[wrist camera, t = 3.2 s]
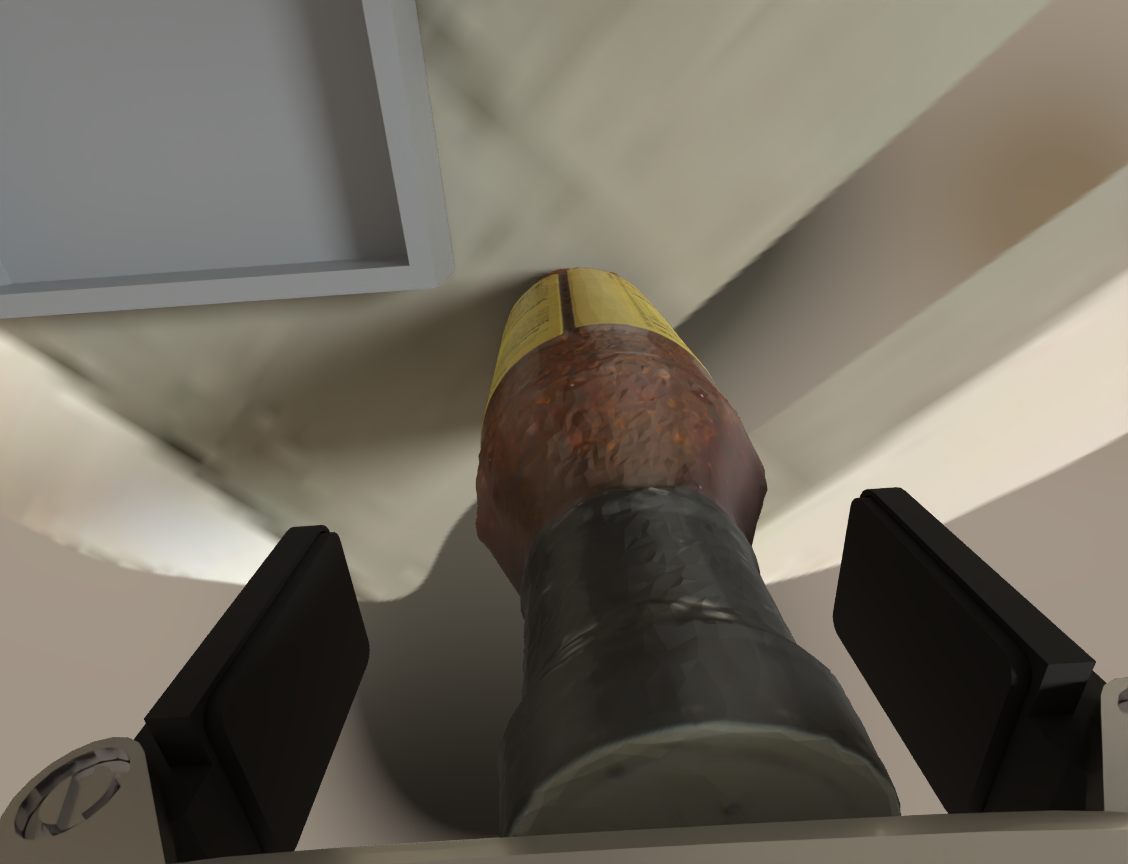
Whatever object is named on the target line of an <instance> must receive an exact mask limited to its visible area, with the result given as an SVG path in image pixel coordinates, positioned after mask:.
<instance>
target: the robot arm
mask: <svg viewBox="0 0 1128 864" xmlns="http://www.w3.org/2000/svg"><path fill="white" fill-rule="evenodd" d="M833 622H834V627H835V630H836V633H837V635H838V636H839V638H840V639H841V641H842V643H843V644H844V646H845V648H846V649H847V651H848V653H849V654H850V656H851V657H852V659H853V661H854V662H855V664H856V666H857V667H858V669H859V670H860V672H861V674H862V675H863V677H864V678H865V680H866V682H867V683H868V685H869V687H870V688H871V690H872V691H873V693H874V695H875V696H876V698H877V700H878V701H879V703H880V705H881V706H882V708H883V709H884V711H885V712H886V714H887V716H888V717H889V719H890V721H891V722H892V724H893V726H894V727H895V729H896V730H897V732H898V734H899V735H900V737H901V738H902V740H903V742H904V743H905V745H906V747H907V748H908V750H909V751H910V753H911V755H912V756H913V758H914V760H915V761H916V763H917V765H918V766H919V768H920V769H921V771H922V773H923V774H924V776H925V777H926V779H927V781H928V782H929V784H930V786H931V787H932V789H933V790H934V792H935V794H936V795H937V797H938V798H939V800H940V802H941V803H942V805H943V806H944V808H945V809H946V811H947V812H948V814H932V815H910V816H891V817H871V818H851V819H831V820H811V821H791V822H771V823H751V824H732V825H714V826H696V827H678V828H660V829H642V830H624V831H606V832H589V833H571V834H554V835H536V836H519V837H503V838H488V839H471V840H455V841H441V842H440V841H439V842H423V843H406V844H391V845H374V846H358V847H342V848H330V849H318V850H304V851H294V850H295V848H296V846H297V844H298V841H299V839H300V836H301V834H302V831H303V828H304V826H305V823H306V821H307V818H308V816H309V813H310V810H311V808H312V805H313V803H314V800H315V797H316V795H317V792H318V790H319V787H320V785H321V782H322V779H323V777H324V774H325V772H326V769H327V767H328V764H329V762H330V759H331V756H332V754H333V751H334V749H335V746H336V743H337V741H338V738H339V736H340V733H341V731H342V728H343V725H344V723H345V720H346V718H347V715H348V713H349V710H350V707H351V705H352V702H353V700H354V697H355V695H356V692H357V689H358V687H359V684H360V682H361V679H362V677H363V674H364V671H365V669H366V666H367V663H368V659H369V651H370V649H369V641H368V638H367V634H366V630H365V627H364V623H363V620H362V616H361V613H360V609H359V605H358V602H357V598H356V595H355V591H354V587H353V584H352V580H351V577H350V573H349V570H348V566H347V562H346V559H345V555H344V552H343V548H342V545H341V541H340V538H339V536H338V534H337V533H335V532H330V531H329V529H328V528H327V527H326V526H324V525H316V526H301V527H292V528H290V529H289V530H288V531H287V532H286V533H285V535H284V536H283V537H282V538H281V540H280V541H279V542H278V544H277V545H276V546H275V548H274V549H273V550H272V552H271V553H270V554H269V556H268V557H267V558H266V559H265V561H264V562H263V563H262V565H261V566H260V567H259V569H258V570H257V571H256V573H255V574H254V575H253V577H252V578H251V579H250V580H249V582H248V583H247V584H246V586H245V587H244V588H243V590H242V591H241V593H240V594H239V595H238V596H237V598H236V599H235V600H234V602H233V603H232V604H231V606H230V607H229V608H228V609H227V611H226V612H225V613H224V615H223V616H222V617H221V618H220V620H219V621H218V622H217V624H216V625H215V626H214V628H213V629H212V630H211V632H210V633H209V634H208V635H207V637H206V638H205V639H204V641H203V642H202V643H201V645H200V646H199V647H198V649H197V650H196V651H195V653H194V654H193V655H192V656H191V658H190V659H189V660H188V662H187V663H186V664H185V666H184V667H183V668H182V670H181V671H180V672H179V673H178V675H177V676H176V677H175V679H174V680H173V681H172V683H171V684H170V685H169V687H168V688H167V689H166V691H165V692H164V693H163V694H162V696H161V697H160V698H159V700H158V701H157V702H156V704H155V705H154V706H153V708H152V709H151V710H150V711H149V713H148V714H147V715H146V717H145V718H144V720H145V722H146V724H145V725H144V727H143V728H142V729H141V731H140V732H139V733H138V735H137V736H136V737H135V739H134V740H132V739H131V738H128V737H126V738H125V737H112V738H107V739H103V740H99V741H95V742H92V743H90V744H87V745H85V746H83V747H81V748H78V749H75V750H74V751H71V752H70V753H68V754H66V755H65V756H63V757H61V758H60V759H58V760H56V761H55V762H53V763H51V764H50V765H49V766H47V767H46V768H45V769H44V770H42V771H41V772H40V773H39V774H37V775H36V776H35V777H34V778H32V779H31V780H30V781H29V782H28V783H27V784H26V785H25V786H24V787H23V788H22V789H21V791H19V792H18V793H17V795H16V796H15V797H14V798H13V799H12V801H11V802H10V804H9V805H8V807H7V808H6V810H5V812H4V813H3V814H2V816H1V819H0V864H1128V677H1123V678H1115V679H1113V680H1111V681H1110V682H1108V683H1106V682H1105V681H1104V680H1102V679H1101V678H1100V677H1099V676H1098V675H1097V674H1096V673H1095V672H1094V671H1093V668H1094V666H1095V663H1096V661H1095V660H1094V659H1093V658H1091V657H1090V656H1089V655H1088V654H1087V653H1086V652H1085V651H1084V650H1083V649H1081V648H1080V647H1079V646H1078V645H1077V644H1076V643H1075V642H1074V641H1072V640H1071V639H1070V638H1069V637H1068V636H1067V635H1066V634H1065V633H1063V632H1062V631H1061V630H1060V629H1059V628H1058V627H1057V626H1056V625H1055V624H1053V623H1052V622H1051V621H1050V620H1049V619H1048V618H1047V617H1046V616H1045V615H1043V614H1042V613H1041V612H1040V611H1039V610H1038V609H1037V608H1036V607H1035V606H1033V605H1032V604H1031V603H1030V602H1029V601H1028V600H1027V599H1026V598H1024V597H1023V596H1022V595H1021V594H1020V593H1019V592H1018V591H1016V589H1014V588H1013V587H1012V586H1011V585H1010V584H1009V583H1008V582H1007V581H1005V580H1004V579H1003V578H1002V577H1001V576H1000V575H999V574H998V573H997V572H995V571H994V570H993V569H992V568H991V567H990V566H989V565H988V564H986V563H985V562H984V561H983V560H982V559H981V558H980V557H979V556H978V555H976V554H975V553H974V552H973V551H972V550H971V549H970V548H969V547H967V546H966V545H965V544H964V543H963V542H962V541H961V540H959V538H957V537H956V536H955V535H954V534H953V533H952V532H951V531H949V530H948V529H947V528H946V527H945V526H944V525H943V524H942V523H941V522H940V521H938V520H937V519H936V518H935V517H934V516H933V515H932V514H931V513H929V512H928V511H927V510H926V509H925V508H924V507H923V506H922V505H921V504H919V503H918V502H917V501H916V500H915V499H914V498H913V497H912V496H910V495H909V494H908V493H907V492H906V491H905V490H903V489H902V488H897V487H894V488H879V489H866V490H864V491H863V492H862V494H861V495H860V498H855V499H854V500H853V501H852V503H851V507H850V513H849V519H848V525H847V531H846V537H845V543H844V549H843V555H842V561H841V568H840V573H839V579H838V586H837V592H836V598H835V604H834V610H833Z"/></svg>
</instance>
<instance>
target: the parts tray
mask: <svg viewBox="0 0 1128 864" xmlns="http://www.w3.org/2000/svg"><path fill="white" fill-rule="evenodd" d="M453 272H455V267H454V260H453V253H452V247H451V240H450V233H449V226H448V219H447V213H446V206H445V199H444V192H443V186H442V179H441V172H440V165H439V158H438V152H437V145H436V138H435V131H434V124H433V118H432V111H431V104H430V97H429V91H428V84H427V77H426V70H425V63H424V57H423V50H422V43H421V36H420V30H419V23H418V16H417V9H416V2H415V0H0V319H5V318H19V317H33V316H47V315H62V314H76V313H90V312H104V311H119V310H133V309H147V308H161V307H176V306H190V305H204V304H218V303H233V302H247V301H261V300H275V299H289V298H304V297H318V296H332V295H346V294H361V293H375V292H389V291H403V290H418V289H432V288H438V287H439V286H440V285H441V284H442V283H443V282H444V281H445V280H446V279H447V278H448V277H449V276H450V275H451V274H452V273H453Z"/></svg>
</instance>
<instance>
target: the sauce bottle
mask: <svg viewBox="0 0 1128 864" xmlns="http://www.w3.org/2000/svg"><path fill="white" fill-rule="evenodd" d="M480 447H481V451H480V453H479V466H478V474H477V477H476V491H477V505H478V507H477V519H476V530H477V535H478V538H479V539H480V541H481V542H483V543H484V544H485V545H486V547H487V548H488V549H489V550H490V551H491V553H492V554H493V556H494V558H495V559H496V560H497V562H498V564H499V565H500V567H501V568H502V570H503V571H504V573H505V574H506V576H507V577H508V579H509V580H510V582H511V583H512V585H513V586H514V588H515V589H516V591H517V592H518V594H519V596H520V597H521V598H520V599H521V600H520V601H521V612H522V615H523V618H524V620H525V624H524V661H523V672H524V679H523V686H522V701H521V703H520V704H519V706H518V707H517V709H516V711H515V712H514V714H513V715H512V717H511V719H510V721H509V723H508V726H507V728H506V731H505V733H504V736H503V739H502V742H501V745H500V750H499V756H498V770H499V777H500V804H499V824H500V838H503V837H519V836H536V835H554V834H571V833H589V832H606V831H624V830H642V829H660V828H678V827H696V826H714V825H732V824H751V823H771V822H791V821H811V820H831V819H851V818H871V817H891V816H901V813H900V802H899V799H898V796H897V793H896V790H895V788H894V785H893V783H892V781H891V779H890V777H889V775H888V772H887V770H886V768H885V766H884V764H883V763H882V761H881V760H880V758H879V757H878V755H877V753H876V751H875V749H874V747H873V745H872V742H871V741H870V738H869V736H868V734H867V732H866V730H865V728H864V726H863V724H862V722H861V720H860V718H859V717H858V715H857V714H856V712H855V711H854V709H853V707H852V705H851V703H850V701H849V699H848V698H847V696H846V695H845V693H844V690H843V688H842V687H841V685H840V683H839V682H838V680H837V679H836V677H835V676H834V675H833V674H832V673H831V672H830V670H829V669H828V668H827V667H826V666H824V665H823V664H822V663H821V662H820V661H818V660H817V659H816V658H815V657H813V656H812V655H811V654H809V653H808V652H807V651H805V650H804V649H803V648H801V647H800V646H799V645H797V644H796V642H795V640H794V638H793V636H792V635H791V633H790V630H789V628H788V627H787V625H786V624H785V622H784V620H783V618H782V616H781V614H780V612H779V610H778V608H777V606H776V604H775V602H774V601H773V599H772V597H771V595H770V593H769V592H768V590H767V588H766V586H765V584H764V582H763V579H762V577H761V576H760V570H759V566H758V562H757V559H756V556H755V553H754V551H753V548H752V543H753V539H754V534H755V529H756V525H757V522H758V519H759V516H760V513H761V509H762V506H763V501H764V497H765V495H766V492H767V483H766V479H765V470H764V467H763V465H762V463H761V461H760V459H759V457H758V455H757V453H756V451H755V449H754V447H753V445H752V443H751V441H750V439H749V437H748V435H747V433H746V431H745V429H744V426H743V424H742V422H741V420H740V417H739V416H738V412H737V411H736V410H735V409H733V408H732V407H731V405H730V404H729V402H728V400H727V399H725V398H724V397H723V396H722V394H721V393H720V392H719V390H718V388H717V387H716V385H715V383H714V381H713V379H712V378H711V376H710V374H709V372H708V371H707V370H706V369H705V367H704V366H703V365H702V364H701V362H700V361H699V360H698V359H697V358H696V357H695V355H694V354H693V353H692V352H691V351H690V350H689V348H688V347H687V346H686V345H685V344H684V342H683V341H682V340H681V339H680V338H679V337H678V335H677V334H676V333H675V331H674V330H673V329H672V328H671V327H670V325H669V324H668V323H667V322H666V321H665V320H664V318H663V317H662V316H661V315H660V314H659V313H658V311H657V310H656V309H655V308H654V307H653V305H652V304H651V303H650V302H649V301H648V300H647V299H646V297H645V296H644V295H643V294H642V293H641V292H640V291H639V290H638V289H637V288H635V287H634V286H633V285H632V284H630V283H629V282H627V281H626V280H624V279H622V278H620V277H619V276H618V275H616V274H615V273H612V272H611V273H609V272H606V271H602V270H597V269H589V268H573V269H559V270H556V271H554V272H552V273H550V274H548V275H546V276H545V277H543V278H541V279H540V280H539V281H538V282H536V283H535V284H534V285H532V286H531V288H530V289H529V290H528V291H526V292H525V293H524V294H523V295H522V296H521V298H520V299H519V300H518V301H517V302H516V303H515V305H514V306H513V308H512V310H511V312H510V315H509V317H508V320H507V322H506V326H505V329H504V332H503V336H502V340H501V345H500V350H499V354H498V359H497V363H496V367H495V372H494V376H493V380H492V384H491V388H490V392H489V397H488V401H487V405H486V409H485V413H484V417H483V421H482V429H481V446H480Z"/></svg>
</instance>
